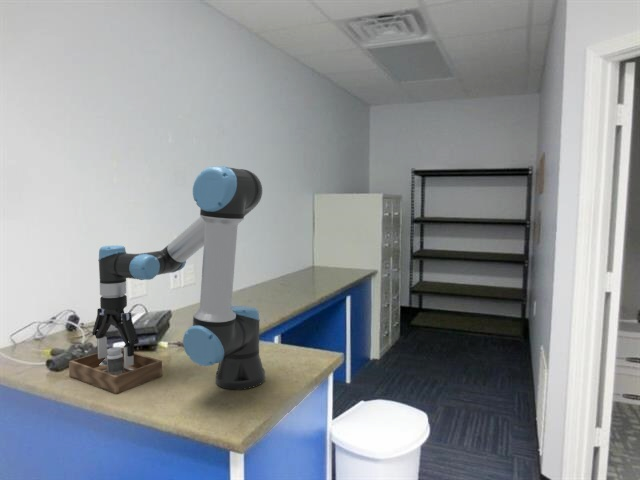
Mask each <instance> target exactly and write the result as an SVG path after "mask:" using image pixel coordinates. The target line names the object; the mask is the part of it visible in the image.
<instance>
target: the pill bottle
mask: <svg viewBox="0 0 640 480" xmlns="http://www.w3.org/2000/svg"><path fill="white" fill-rule="evenodd" d="M121 349H122V348H121V346H114V347H110V348H107V354H108V355H107V373H110V374H113V375H116V376H117V375H120V374H123V373H124V365H123V354H122V353H121Z"/></svg>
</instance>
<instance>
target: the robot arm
mask: <svg viewBox="0 0 640 480" xmlns="http://www.w3.org/2000/svg"><path fill="white" fill-rule="evenodd" d="M192 196H193V197H192V198H193V201H194V202H196V203H195V204H196V205H197V206H198V207H199V208H200V211H199V212H200V214H199V217H198V218H197V219H196V220H194V221H193V222H192V223H191V224H190V225H189V226H187V228H186V229H184V231H182V232H181V233H180V234H178V236H176V238H174V239H173V240H172V241H170V243H168V244H167V245H166V246H165V247H164V248H163V249H161V250H157V251H156V250H155V251H150V252H141V253H127V251H126V247H125V246H123V245H103V246H101V247H99V251H98V268H99V269H98V273H99V275H98V276H99V295H100V298H99V301H100V302H99V305H100V308H97V309H96V310H97V314H96V318H95V322H94V325H93V328H92V332H91V334H92V335H93V336H95V338H96V341H97V353H98V359H101V358H105V357H107V350H108V340H107V338H108V337H107V332H108V331H109V329H110V327H111V326H113V327H114V328H115V329H116V330H117V331H118V332H119V335H120V337H121V339H122V341H123V342H124V346H123V350H124V367H129V366H132V365H134V356H133V355H134V353H135V345H137V344H139V343H140V342H139V341H140V340H139V338H138V335H137V332H136V328H135V326H134V322H133V319H132V318H133V317H132V313H131V312H126V313H125V310H124V309H125V308H127V307H128V296H127V295H126V294H127V279H133V280H140V281H143V280H144V281H145V280H147V281H150V280H153V279H155V277H156V276H158V275H165V274H170V273H171V274H173V273H176V272H177V271H181V270H183V269H184V267H185V266H186V263H187V260H189V259H190V257H192V256H193V255H195V254H196V253H197V252H198V251H199V250H200V249H202V248H203V250H202V251H203V253H202V255H203V256H202V267H201V269H202V270H201V282H200V297H199V298H200V299H199V308H198V309H197V310H196V311H194V312H193V314H192V315H193V318H192V325H191V326H189V327H188V329H187V330H186V331H185V332H184V334H183V338H182V344H183V349H184V352H185V354H186V355H187V356H188V357H189V360H190V361H192V362H193V363H195V364H196V365H199V366H202V367H210V366H213V365H215V364H218V366H217V370H216V372H215V384H216V385H217V386H218V387H220V388H222V389H227V390H234V389H239V390H245V389H244V388H248V389H250V388H249V387H252V388H254V387H253V386H256V385H258V386H260V385H261V384H260V383H262V382H263V381H264V382H265V380H266V371H265V369H264V367H263V363H262V360H261V356H260V320H261V319H260V312H259V310H258V309H257V308H255V307H252V306H245V305H244V306H243V305H232V304H233V303H232V302H233V291H234V290H233V289H234V278H235V277H234V276H235V264H236V250H237V238H238V237H237V236H238V225H239V224H240V223H241V222H243V221H244V220H245V216H247V215H248V214H249V213H250V212H251V211H252V210H255V208H256V207H257V206H258V204H259V203H260V202H261V199H262V197H263V184H262V183H261V181H260V178H259V177H258V176H257V175H256V174H255V173H254V172H252V171H251V170H248V169H243V168H234V167H228V166H223V165H221V166H210V167H206V168H204V169H203V170H202V171H201V172H199V174H198V175H197V176H196V178H195V179H194V182H193V186H192ZM264 379H265V380H264ZM264 382H263V383H264ZM263 383H262V384H263ZM259 384H260V385H259ZM256 387H257V386H256Z"/></svg>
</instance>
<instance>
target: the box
mask: <svg viewBox="0 0 640 480" xmlns="http://www.w3.org/2000/svg"><path fill="white" fill-rule="evenodd" d="M121 353H122V354H123V365H124V348H123V349H122V348H121ZM107 355H108V354H107ZM133 356H134V365H132V366H129V367H124V373H123V374H120V375H117V376H116V375H113V374H110V373H107V366H99V364H100V363H101V362H102V361H103V360H104V359H105V358H101V359H98V352H95V353H91V354H89V355H84V356H82V357H78V358H75V359H71V360H69V361H68V369H69V370H68V373H69V374H68V375H69V377H70V378H72V379H74V380H78V381H79V382H82V383H85V384H88V385H90V386H94V387H96V388H99V389H102V390H105V391H106V392H109V393H112V394H114V395H118V394H120V393H123V392H125V391H128V390H131V389H134V388H135V387H138V386H141V385H143V384H146V383H148V382H150V381H153V380H156V379H158V378H161V377H163V360H161V359H158V358H154V357H150V356H147V355H144V354H140V353H136V352H134V355H133Z"/></svg>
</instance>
